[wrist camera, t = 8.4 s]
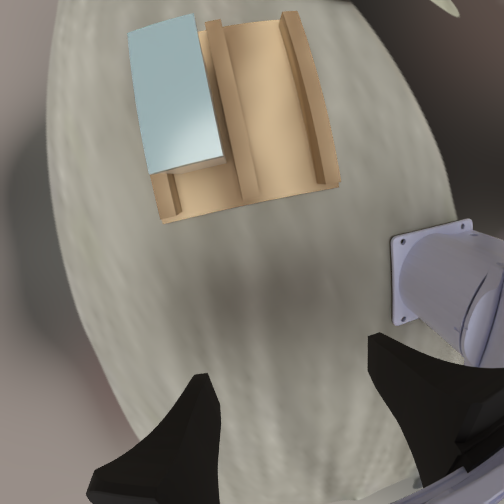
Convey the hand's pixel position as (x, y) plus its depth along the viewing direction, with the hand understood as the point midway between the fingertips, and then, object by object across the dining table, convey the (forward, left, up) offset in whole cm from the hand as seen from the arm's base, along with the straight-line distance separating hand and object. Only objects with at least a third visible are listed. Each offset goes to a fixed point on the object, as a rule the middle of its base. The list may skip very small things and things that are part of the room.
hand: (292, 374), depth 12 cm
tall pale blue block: (+2, -13, -9) cm, 16 cm away
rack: (0, -13, -10) cm, 16 cm away
